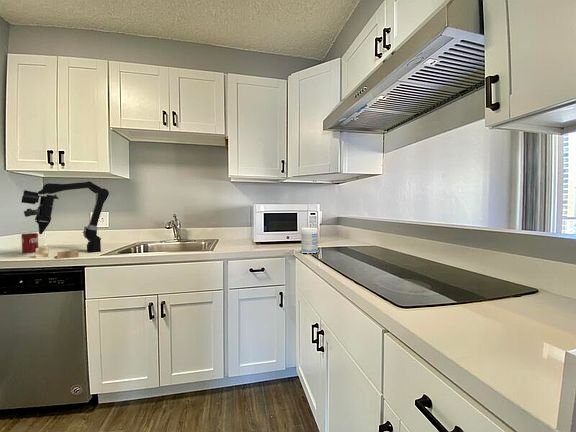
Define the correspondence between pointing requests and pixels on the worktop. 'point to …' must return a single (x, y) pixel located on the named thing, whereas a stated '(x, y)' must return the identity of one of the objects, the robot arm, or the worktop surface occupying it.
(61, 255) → the walnut block
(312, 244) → the supplement tub
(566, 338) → the worktop surface
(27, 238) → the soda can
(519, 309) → the worktop surface
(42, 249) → the oak cube
